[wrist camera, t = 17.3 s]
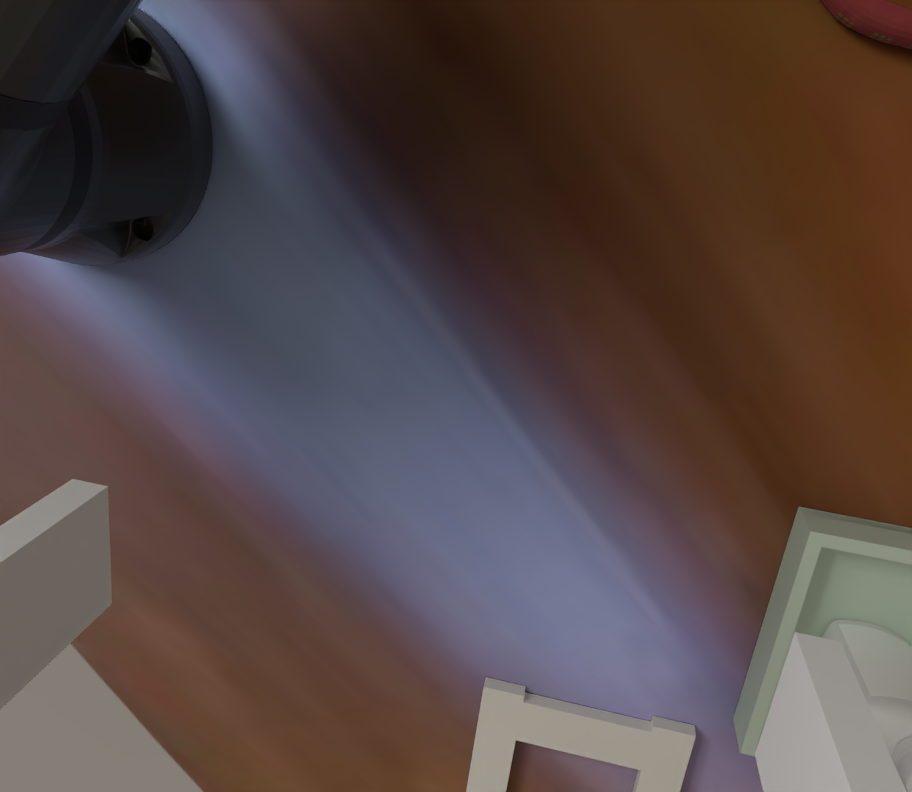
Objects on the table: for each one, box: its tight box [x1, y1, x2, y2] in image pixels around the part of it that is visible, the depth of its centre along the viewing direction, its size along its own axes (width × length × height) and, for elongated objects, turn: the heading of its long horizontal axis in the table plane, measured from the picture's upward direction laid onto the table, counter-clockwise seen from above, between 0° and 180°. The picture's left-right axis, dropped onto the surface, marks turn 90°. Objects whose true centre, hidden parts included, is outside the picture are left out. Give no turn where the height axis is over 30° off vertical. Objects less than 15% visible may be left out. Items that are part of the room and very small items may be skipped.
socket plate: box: [466, 677, 696, 792], centre depth 55 cm, size 14×14×1 cm
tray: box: [733, 507, 912, 792], centre depth 46 cm, size 12×16×3 cm
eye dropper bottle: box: [821, 620, 912, 792], centre depth 41 cm, size 4×6×12 cm
